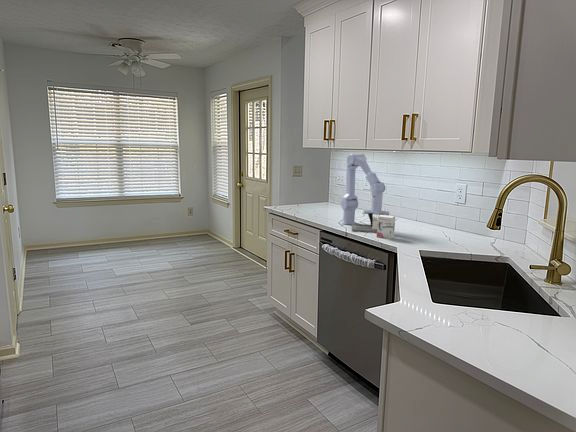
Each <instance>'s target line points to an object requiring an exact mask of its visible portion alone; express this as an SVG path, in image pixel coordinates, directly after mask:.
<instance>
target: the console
mask: <svg viewBox="0 0 576 432" xmlns="http://www.w3.org/2000/svg"><path fill="white" fill-rule="evenodd" d="M351 232H354V233H355V232H358V233H371V234H373V233H374V234H375V233H376V234H377V230H375V229H372V227H371V225H370V224H365V223H364V224H363V223H361V224H360V223H355V224H352V225H351Z"/></svg>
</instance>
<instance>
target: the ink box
mask: <svg viewBox="0 0 576 432" xmlns="http://www.w3.org/2000/svg"><path fill="white" fill-rule="evenodd" d="M377 220H378V225H377V233H376V238H381V237H383V239H388V238H390V240H392V239H394V237H395V226H396V216H394V215H377Z"/></svg>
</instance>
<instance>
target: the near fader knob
mask: <svg viewBox="0 0 576 432" xmlns="http://www.w3.org/2000/svg"><path fill="white" fill-rule="evenodd" d="M377 225H378V218H377V219H373V220H372V229H375V230H377Z"/></svg>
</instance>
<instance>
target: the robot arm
mask: <svg viewBox="0 0 576 432" xmlns="http://www.w3.org/2000/svg"><path fill="white" fill-rule="evenodd" d="M367 160H368V159H367V157H366V155H365V154H364V153H349V154H348V156H347V157H346V176H345V177H346V178H345V179H346V180H345V184H346V185H345V194H344V195H343V196H342V197H341V201H340V206H341V208H342V210H343V212H342V222H341V225H351V226H352V224H356V220H355V217H356V210H357V208H359V200H358V196H357V195H356V193H355V191H356V189H355V188H356V169H358V168H359V167H360V169H362V171H363V172H364V174H365V175H366V177H365V179H366V180H367V182H368V184H369V186H370V191H371V196H372V198H371V210H370V209H369V210H367V209H366V210H364V209H363V210H362V211H363V214H362V215H368V217H369V220H370V224H371V227H372V220H373V217H374V216H373V215H377V216H379V215H388V216H390V211H388V210H387V211H385V210H383V209H382V206H383V205H382V204H383V196H384V195H383V193H384V192H386V191H385V190H386V185H385V183H384V182H381V180H380V179H379V178H378V176H377V173H376V172H373V171H372V170H371V168H370V167H369V164H368V161H367Z"/></svg>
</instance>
